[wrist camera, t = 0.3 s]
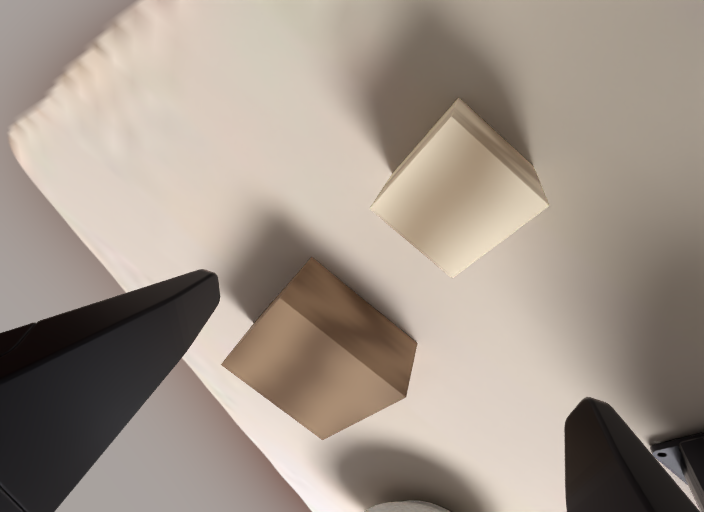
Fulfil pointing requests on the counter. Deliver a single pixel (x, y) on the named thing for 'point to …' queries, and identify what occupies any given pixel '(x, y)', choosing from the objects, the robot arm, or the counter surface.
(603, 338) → the counter surface
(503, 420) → the counter surface
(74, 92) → the counter surface
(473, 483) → the counter surface
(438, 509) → the cereal bowl
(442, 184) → the maple cube
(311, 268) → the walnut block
